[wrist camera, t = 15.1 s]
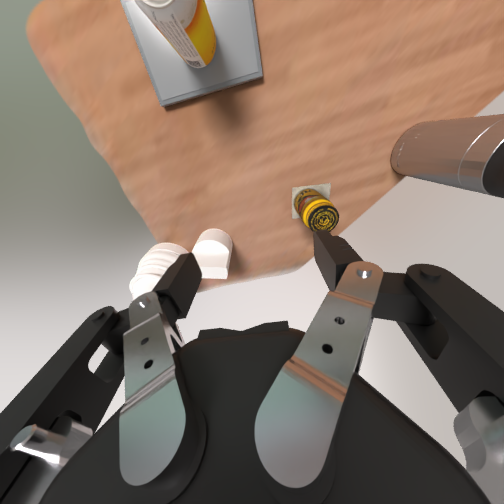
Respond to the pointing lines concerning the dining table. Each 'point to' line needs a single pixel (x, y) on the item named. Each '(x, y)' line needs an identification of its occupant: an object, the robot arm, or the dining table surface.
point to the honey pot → (154, 267)
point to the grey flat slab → (221, 66)
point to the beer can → (184, 27)
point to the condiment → (314, 207)
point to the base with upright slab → (213, 253)
